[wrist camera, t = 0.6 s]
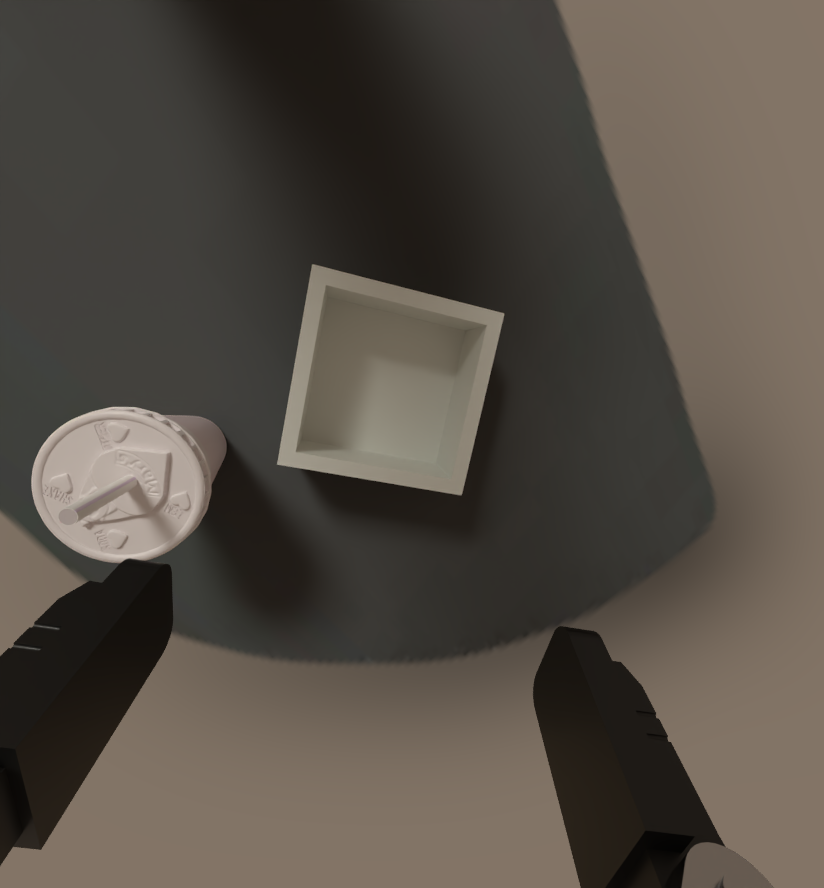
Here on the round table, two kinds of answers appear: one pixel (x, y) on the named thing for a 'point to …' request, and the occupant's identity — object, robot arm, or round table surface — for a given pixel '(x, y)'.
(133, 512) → the smoothie
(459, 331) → the box
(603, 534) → the round table surface
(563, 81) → the round table surface
